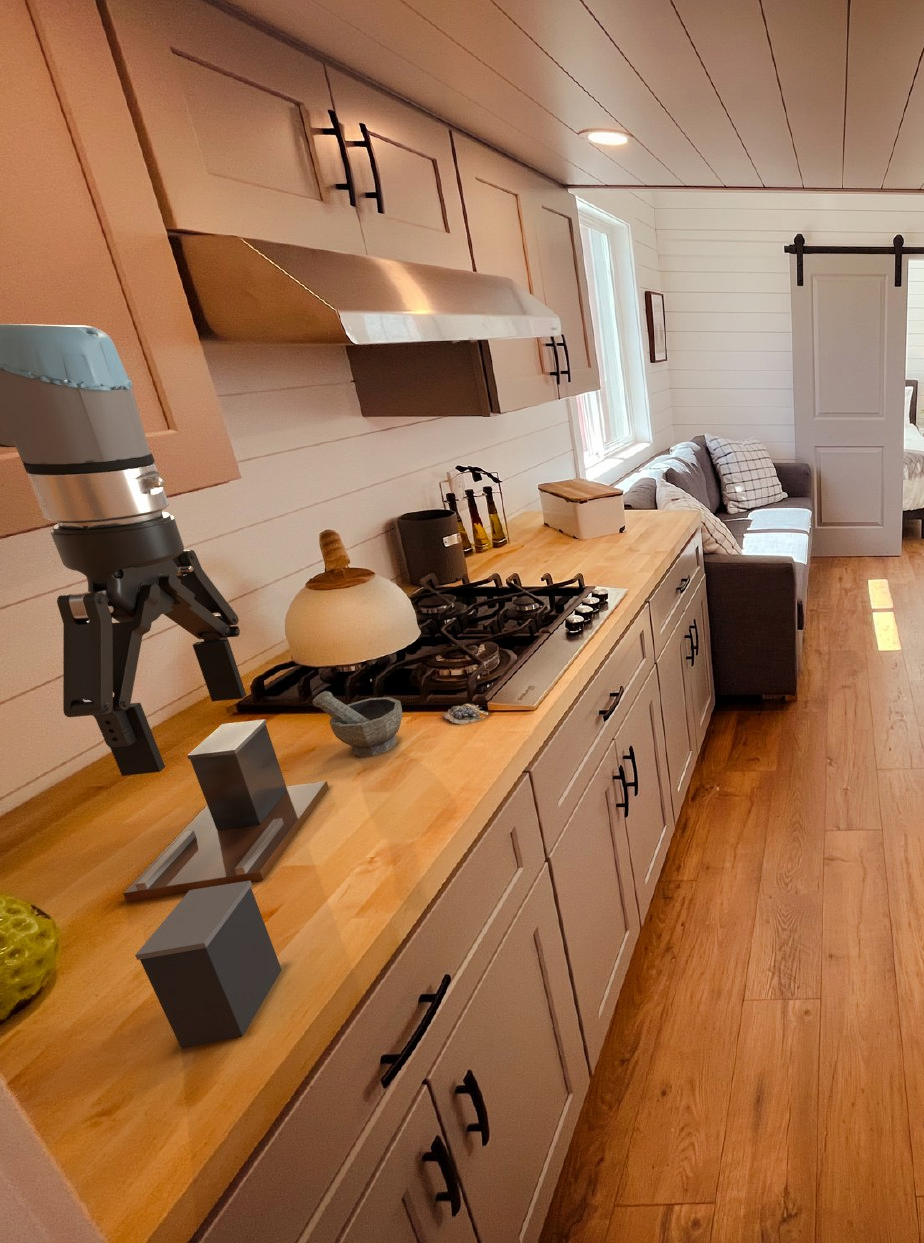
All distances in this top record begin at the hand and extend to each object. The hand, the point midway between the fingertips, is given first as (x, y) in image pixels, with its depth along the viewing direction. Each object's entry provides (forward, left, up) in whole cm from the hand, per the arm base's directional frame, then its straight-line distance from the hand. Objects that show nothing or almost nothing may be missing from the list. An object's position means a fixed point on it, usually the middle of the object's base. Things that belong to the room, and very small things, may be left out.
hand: (190, 732), depth 67 cm
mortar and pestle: (-5, +44, -29) cm, 53 cm away
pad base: (-14, +23, -29) cm, 39 cm away
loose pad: (-1, -7, -29) cm, 29 cm away
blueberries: (+8, +52, -29) cm, 60 cm away
